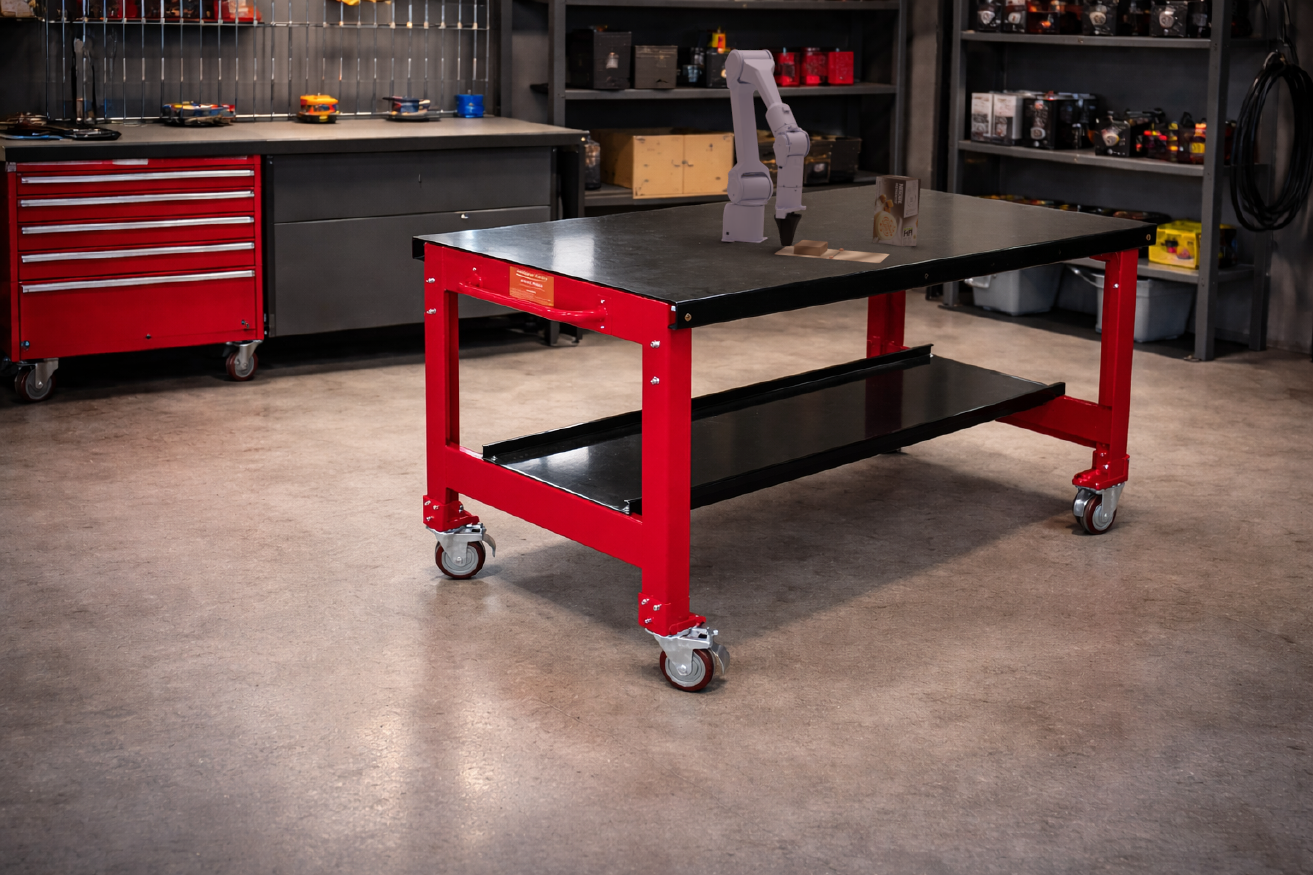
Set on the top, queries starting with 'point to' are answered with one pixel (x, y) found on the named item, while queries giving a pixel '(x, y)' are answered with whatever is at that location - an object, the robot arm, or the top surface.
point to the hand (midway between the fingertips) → (786, 245)
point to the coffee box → (896, 210)
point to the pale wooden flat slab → (839, 255)
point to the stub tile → (810, 247)
